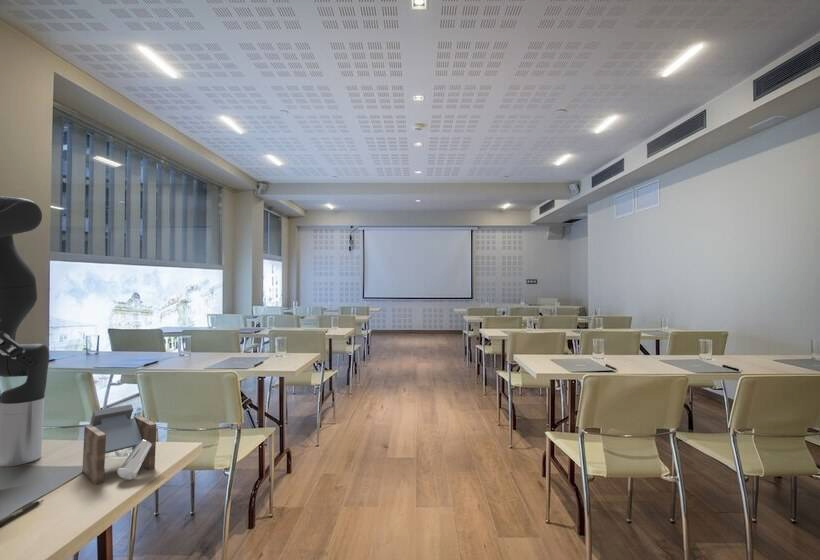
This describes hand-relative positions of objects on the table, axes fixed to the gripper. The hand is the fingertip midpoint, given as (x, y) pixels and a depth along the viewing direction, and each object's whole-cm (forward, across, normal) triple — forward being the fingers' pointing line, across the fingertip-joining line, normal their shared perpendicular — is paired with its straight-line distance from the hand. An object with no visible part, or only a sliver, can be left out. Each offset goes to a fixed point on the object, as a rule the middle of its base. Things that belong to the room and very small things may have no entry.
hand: (31, 363), depth 97 cm
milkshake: (+32, -8, 0) cm, 33 cm away
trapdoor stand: (+35, -1, +8) cm, 36 cm away
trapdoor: (+30, +4, +4) cm, 31 cm away
